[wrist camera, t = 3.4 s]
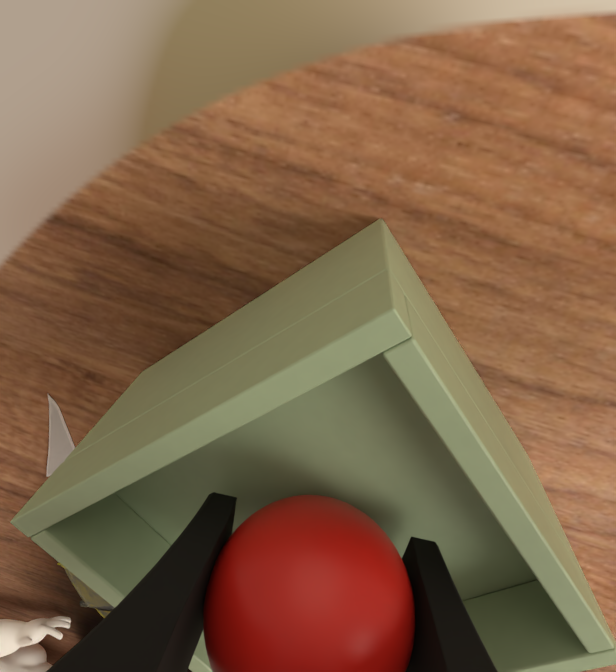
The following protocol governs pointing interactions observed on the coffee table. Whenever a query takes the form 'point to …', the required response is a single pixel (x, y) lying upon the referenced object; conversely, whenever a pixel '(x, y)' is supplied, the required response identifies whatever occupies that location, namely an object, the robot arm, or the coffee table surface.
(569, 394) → the coffee table surface
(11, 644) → the toy creature
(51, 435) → the knife
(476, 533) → the open box
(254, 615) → the ball
